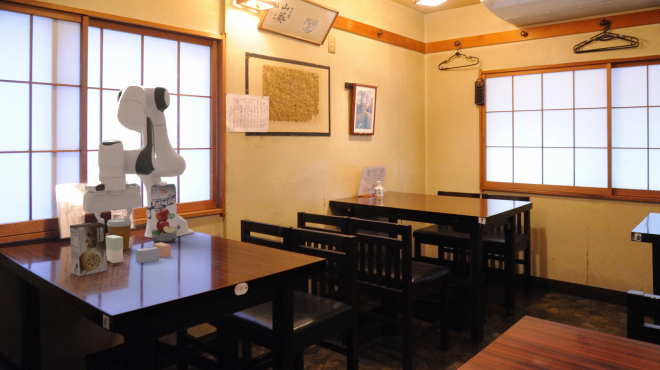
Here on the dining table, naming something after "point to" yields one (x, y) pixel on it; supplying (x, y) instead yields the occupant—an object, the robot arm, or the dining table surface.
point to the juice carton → (163, 212)
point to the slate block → (147, 254)
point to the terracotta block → (163, 249)
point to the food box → (88, 248)
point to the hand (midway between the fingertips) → (114, 222)
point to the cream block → (114, 255)
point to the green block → (114, 242)
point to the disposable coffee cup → (120, 230)
